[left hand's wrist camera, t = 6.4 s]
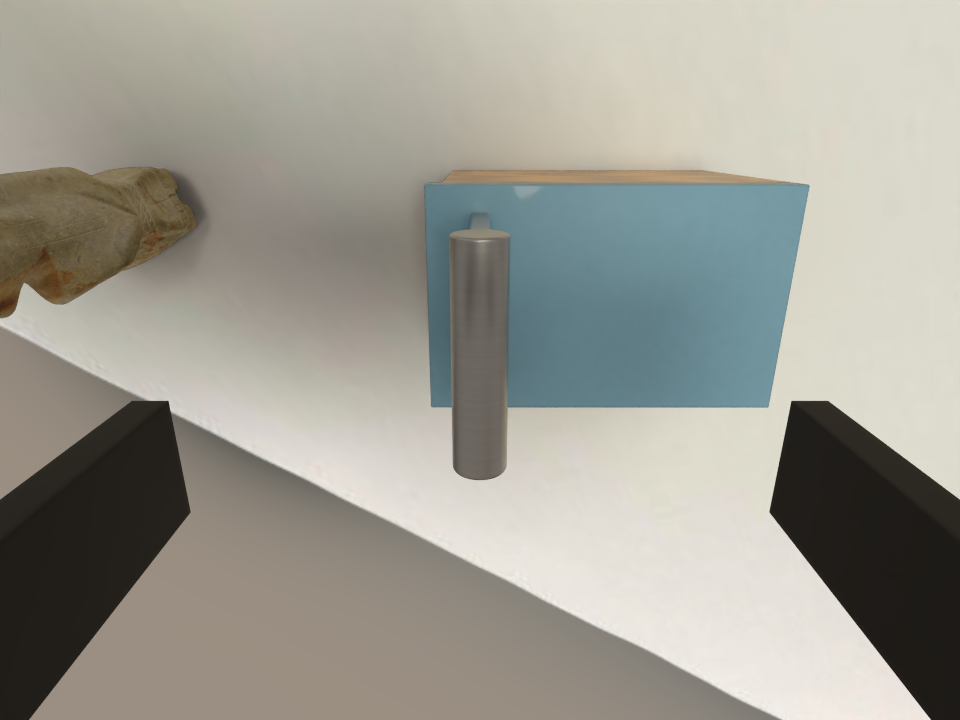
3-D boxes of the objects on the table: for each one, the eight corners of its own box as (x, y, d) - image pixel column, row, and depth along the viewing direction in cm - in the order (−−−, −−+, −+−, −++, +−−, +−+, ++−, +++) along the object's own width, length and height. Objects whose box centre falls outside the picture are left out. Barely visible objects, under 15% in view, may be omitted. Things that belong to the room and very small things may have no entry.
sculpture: (65, 186, 34) (-227, 219, 20) (176, 143, 33) (-46, 146, 19) (118, 281, 36) (-114, 371, 22) (225, 242, 35) (55, 311, 21)
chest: (454, 329, 37) (445, 395, 28) (452, 170, 34) (440, 182, 24) (683, 329, 37) (755, 395, 28) (703, 170, 34) (793, 182, 24)
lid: (433, 396, 28) (412, 505, 19) (427, 182, 24) (398, 204, 16) (756, 396, 27) (873, 505, 19) (793, 182, 24) (955, 204, 16)
